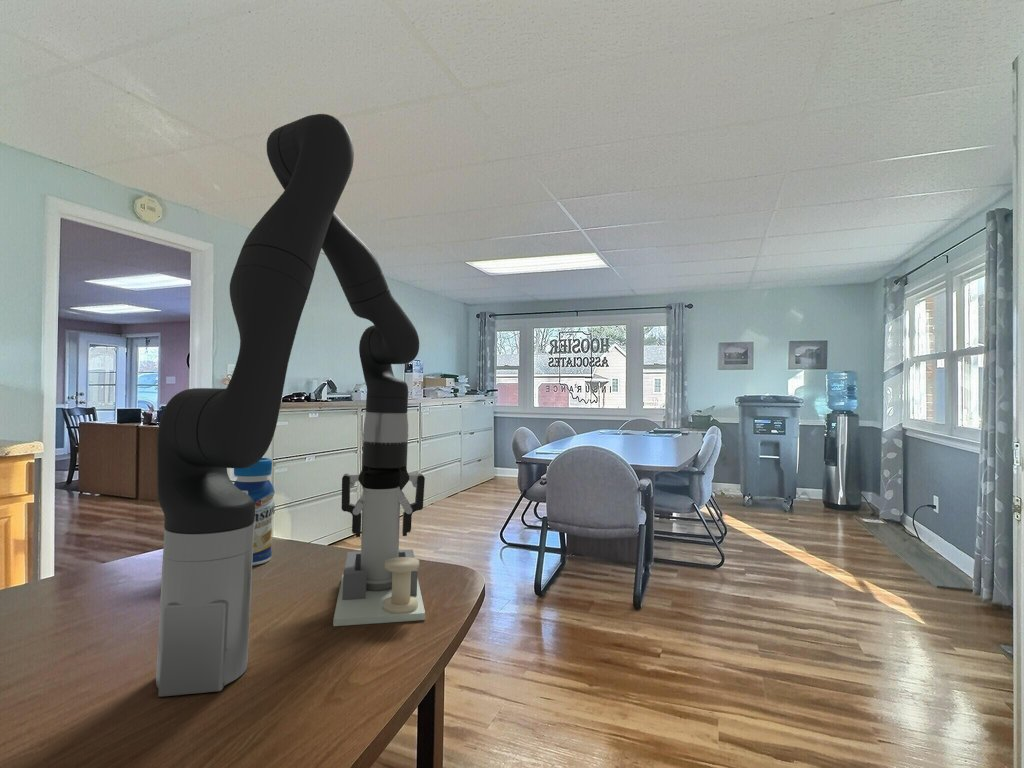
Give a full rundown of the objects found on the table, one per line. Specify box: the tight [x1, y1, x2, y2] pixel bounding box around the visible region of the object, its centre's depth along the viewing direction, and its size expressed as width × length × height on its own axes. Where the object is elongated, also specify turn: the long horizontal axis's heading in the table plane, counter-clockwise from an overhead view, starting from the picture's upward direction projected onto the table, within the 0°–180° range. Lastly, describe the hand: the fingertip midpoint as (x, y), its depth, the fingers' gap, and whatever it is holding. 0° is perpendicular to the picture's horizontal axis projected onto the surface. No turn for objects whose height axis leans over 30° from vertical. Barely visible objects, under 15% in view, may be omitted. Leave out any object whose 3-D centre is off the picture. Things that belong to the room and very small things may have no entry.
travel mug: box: [360, 470, 401, 591], centre depth 90 cm, size 6×7×20 cm
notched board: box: [332, 549, 426, 627], centre depth 87 cm, size 20×13×8 cm, turn 14°
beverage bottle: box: [233, 457, 276, 567], centre depth 104 cm, size 8×8×20 cm
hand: (381, 535), depth 90 cm, fingers open, 7 cm apart
